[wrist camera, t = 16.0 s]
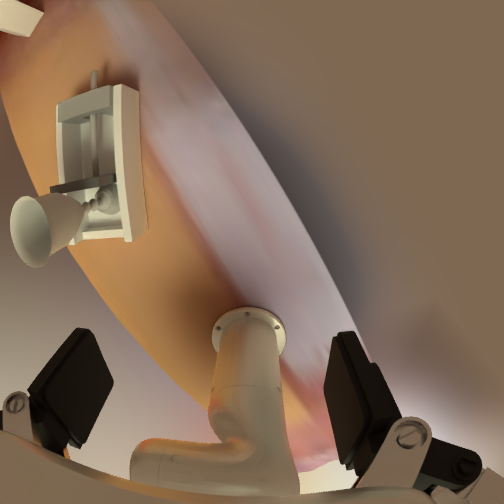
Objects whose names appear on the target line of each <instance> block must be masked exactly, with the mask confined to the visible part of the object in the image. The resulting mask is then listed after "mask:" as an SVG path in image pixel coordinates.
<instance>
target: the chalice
mask: <svg viewBox="0 0 504 504" xmlns="http://www.w3.org/2000/svg"><path fill="white" fill-rule="evenodd" d="M90 210H91V211H93V212H95V211H96V210H98V211H100V212H101V213H104V214H107V215H114V214H117V213H118V212H119V211H120V206H119V198H118V189H117V184H115V183H112V184H109V185H105V186H101V187H100V188H99V190H98V191H97V192H96V194H95V198H93V199H90V201H89V203H88V202H83V204H82V205H81V203H80V202H79V201H77V200H75V199H73V198H72V197H70V196H67V195H64V194H60V193H50V194H47V195H44V196H40V197H37V198H34V199H33V198H31V197H29V196H25V197H21V198H20V199H19V200H17V201H16V203H15V205H14V207H13V209H12V213H11V217H10V230H11V236H12V240H13V243H14V246H15V249H16V250H17V252H18V254H19V256H20V257H21V259H22V260H23V261H24V262H25V263H26V264H28V265H29V266H31V267H33V268H40V267H42V266H44V265H45V263H46V262H47V261H48V259H49V257H50V255H51V254H53V253H55V252H56V251H58V250H60V249H61V248H63V247H65V246H66V245H68V244H69V243H70V241H71V240H72V239H73V237H74V236H75V234H76V233H77V231H78V229H79V226H80V224H81V222H82V220H83V217H84V214H88V213H89V212H90Z"/></svg>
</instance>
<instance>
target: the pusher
mask: <svg viewBox="0 0 504 504" xmlns="http://www.w3.org/2000/svg"><path fill="white" fill-rule="evenodd" d="M97 80H98V71H92V72H91V89H90V91H91V90H94V89H97ZM90 142H91V160H92V173H93V177H90V178H85V179H80V180H76V181H71V182H67V183H63V184H59V185H55V186H51V187H50V193H60V194H63V193H68V192H73V191H79V190H84V189H90V188H96V187H101V186H105V185H109V184H112V183H116V182H117V179H116V173H112V174H106V175H101V176H99V164H98V148H97V113H96V114H93V115H90Z"/></svg>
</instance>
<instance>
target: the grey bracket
mask: <svg viewBox="0 0 504 504" xmlns="http://www.w3.org/2000/svg"><path fill="white" fill-rule="evenodd" d="M96 113H97V148H98V164H99V176H101V175H106V174H112V173H116V179H117V182H116V183H115V184H117V189H118V198H119V206H120V211H119V212H118V213H117V214H114V215H107V214H104V213H101V212H100V211H98V210H96V211H95V212H93V211H91V210H90V212H89V213H88V214H84V217H83V220H82V222H81V224H80V226H79V229H78V231H77V233H76V234H75V236H74V237H73V239H72V240H71V241H70V243H69V245H76V244H77V243H79V242H81V241H82V240H86V239H101V238H117V237H124V240H125V242H133V241H134V240H136V239H137V238H138V237H139V236H141V235H142V234H143V233H145V232H146V231H147V230H148V221H147V213H146V205H145V195H144V185H143V174H142V160H141V143H140V110H139V92H138V91H136V90H134V89H132V88H130V87H128V86H125V85H123V84H119V85H115V86H112V85H107V86H103V87H100V88H97V89H94V90H91V91H88V92H85V93H82V94H80V95H77V96H74V97H72V98H69V99H66V100H64V101H61V102H59V103H58V105H57V106H56V143H57V162H58V175H59V184H63V183H67V182H71V181H76V180H80V179H85V178H90V177H93V173H92V160H91V142H90V115H93V114H96ZM99 188H100V187H96V188H90V189H84V190H79V191H73V192H68V193H63V194H64V195H67V196H70V197H72V198H73V199H75V200H77V201H79V202H80V203H81V205H82V204H83V202H88V203H89V201H90V199H93V198H95V194H96V192H97V191H98V190H99Z"/></svg>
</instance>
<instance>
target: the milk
mask: <svg viewBox="0 0 504 504" xmlns="http://www.w3.org/2000/svg"><path fill="white" fill-rule="evenodd" d="M43 14H44V13H43V12H41V11H39V10H37V9H35V8H32V7H30V6H28V5H26V4H23V3H21V2H19V1H16V0H0V31H4V32H7V33H11V34H14V35H17V36H27V37H30V35H31V34H32V32H33V30H34V29H35V27H36V25H37V24H38V22H39V20H40V19H41V17H42V16H43Z"/></svg>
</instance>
